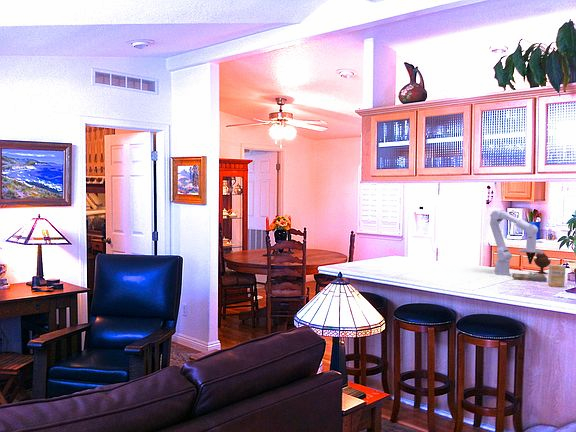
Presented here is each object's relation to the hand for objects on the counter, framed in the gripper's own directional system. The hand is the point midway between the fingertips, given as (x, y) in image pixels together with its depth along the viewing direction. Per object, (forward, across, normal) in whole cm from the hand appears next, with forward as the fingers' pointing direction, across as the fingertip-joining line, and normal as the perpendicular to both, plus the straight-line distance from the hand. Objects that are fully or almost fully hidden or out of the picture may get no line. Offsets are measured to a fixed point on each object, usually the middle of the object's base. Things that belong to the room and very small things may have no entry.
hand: (530, 263), depth 377 cm
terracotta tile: (+9, +5, -6) cm, 12 cm away
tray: (+9, +4, -6) cm, 12 cm away
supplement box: (+9, +13, -27) cm, 31 cm away
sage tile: (+8, 0, -6) cm, 10 cm away
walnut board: (+9, -5, -6) cm, 12 cm away
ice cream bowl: (+10, +10, +23) cm, 27 cm away
